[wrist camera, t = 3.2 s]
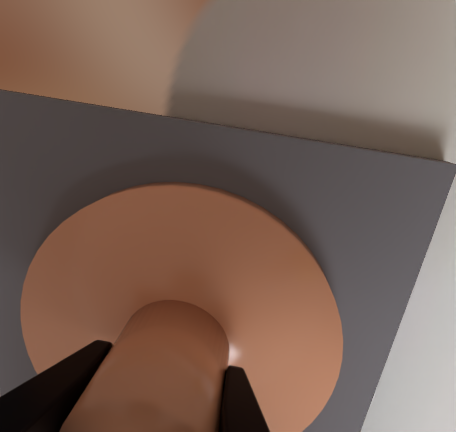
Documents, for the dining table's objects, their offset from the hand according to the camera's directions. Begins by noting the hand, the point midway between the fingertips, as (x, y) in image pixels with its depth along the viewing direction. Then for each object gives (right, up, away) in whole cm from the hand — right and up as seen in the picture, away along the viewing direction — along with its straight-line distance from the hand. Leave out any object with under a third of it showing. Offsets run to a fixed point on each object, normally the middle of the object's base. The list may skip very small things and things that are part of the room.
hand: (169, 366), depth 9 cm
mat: (0, +1, +2) cm, 2 cm away
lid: (0, 0, +1) cm, 2 cm away
